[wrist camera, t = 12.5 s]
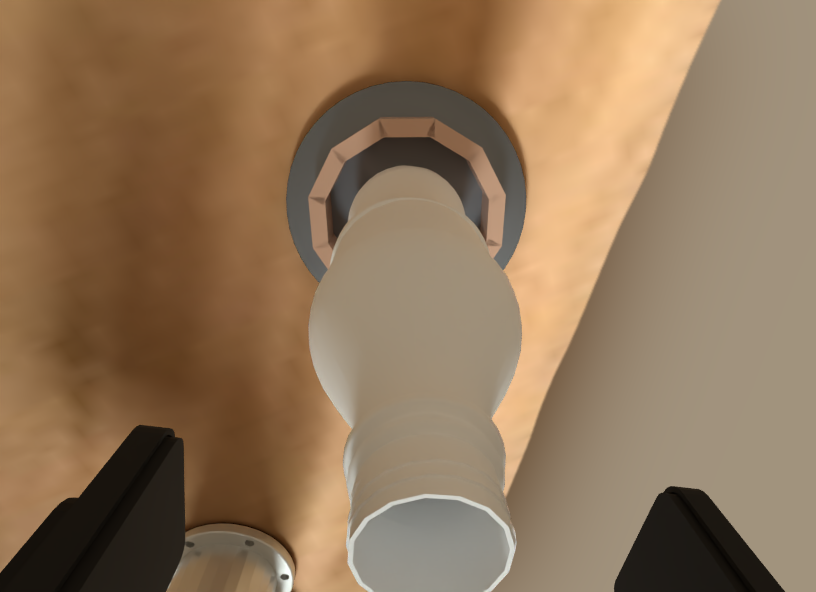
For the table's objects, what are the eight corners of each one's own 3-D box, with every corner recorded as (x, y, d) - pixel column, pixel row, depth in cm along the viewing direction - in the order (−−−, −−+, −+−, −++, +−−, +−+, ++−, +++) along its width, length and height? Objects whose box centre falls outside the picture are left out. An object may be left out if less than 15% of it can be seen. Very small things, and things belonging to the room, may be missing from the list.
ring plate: (558, 248, 33) (575, 264, 30) (370, 348, 36) (367, 372, 33) (454, 27, 28) (461, 18, 24) (240, 167, 30) (222, 175, 27)
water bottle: (385, 282, 33) (356, 712, 10) (332, 192, 30) (129, 496, 7) (476, 236, 32) (684, 606, 9) (430, 138, 29) (551, 302, 6)
